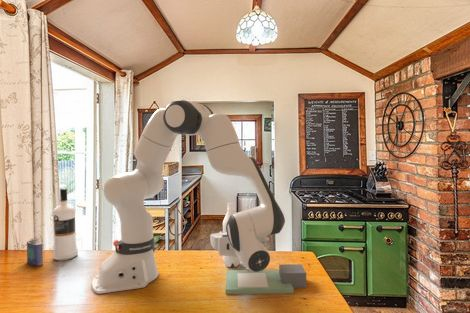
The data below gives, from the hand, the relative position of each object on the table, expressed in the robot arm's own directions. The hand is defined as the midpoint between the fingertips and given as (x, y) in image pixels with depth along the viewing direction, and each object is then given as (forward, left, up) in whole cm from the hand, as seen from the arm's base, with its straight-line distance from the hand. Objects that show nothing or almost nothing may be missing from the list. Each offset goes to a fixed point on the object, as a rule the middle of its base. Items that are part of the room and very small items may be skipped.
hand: (232, 232), depth 113 cm
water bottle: (+1, +2, -14) cm, 14 cm away
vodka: (-59, +44, -14) cm, 75 cm away
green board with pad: (+4, -17, -14) cm, 22 cm away
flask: (-70, +42, -14) cm, 83 cm away
